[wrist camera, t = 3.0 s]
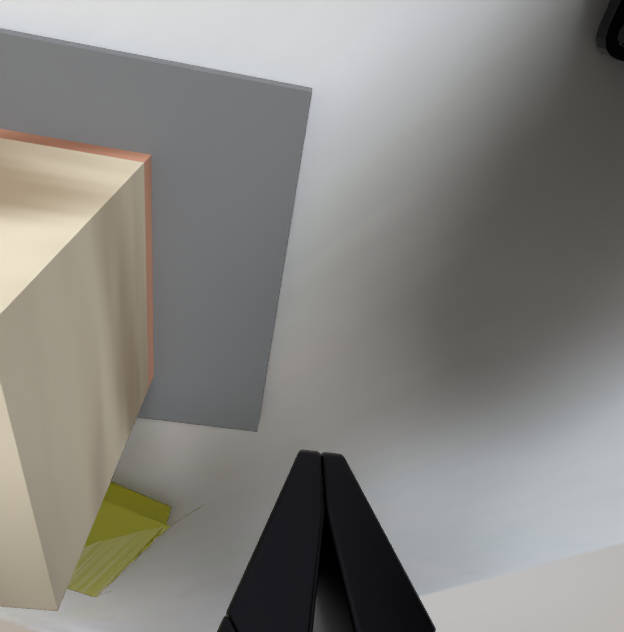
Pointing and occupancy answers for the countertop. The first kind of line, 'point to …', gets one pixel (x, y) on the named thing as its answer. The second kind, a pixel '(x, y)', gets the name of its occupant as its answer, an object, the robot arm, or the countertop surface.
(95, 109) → the charcoal mat
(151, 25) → the countertop surface
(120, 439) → the birch cube
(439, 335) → the countertop surface
